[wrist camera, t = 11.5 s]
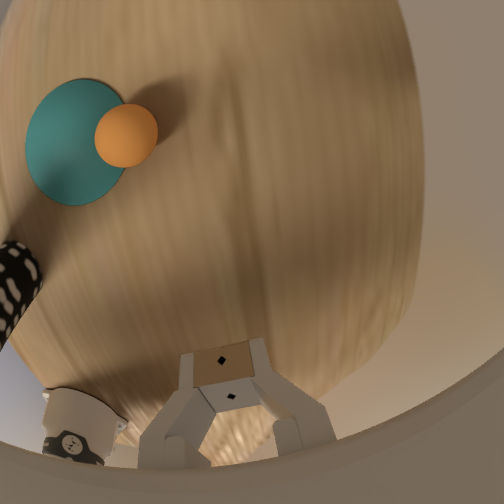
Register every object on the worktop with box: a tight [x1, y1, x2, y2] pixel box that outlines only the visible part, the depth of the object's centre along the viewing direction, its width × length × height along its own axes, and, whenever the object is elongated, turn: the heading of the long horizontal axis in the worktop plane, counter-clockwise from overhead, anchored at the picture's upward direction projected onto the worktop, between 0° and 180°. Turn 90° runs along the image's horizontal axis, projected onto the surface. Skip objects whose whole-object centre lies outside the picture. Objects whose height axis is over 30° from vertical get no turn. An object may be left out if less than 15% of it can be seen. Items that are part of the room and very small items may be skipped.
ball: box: [95, 104, 158, 168], centre depth 20 cm, size 6×6×6 cm
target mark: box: [25, 80, 124, 205], centre depth 21 cm, size 13×13×1 cm
